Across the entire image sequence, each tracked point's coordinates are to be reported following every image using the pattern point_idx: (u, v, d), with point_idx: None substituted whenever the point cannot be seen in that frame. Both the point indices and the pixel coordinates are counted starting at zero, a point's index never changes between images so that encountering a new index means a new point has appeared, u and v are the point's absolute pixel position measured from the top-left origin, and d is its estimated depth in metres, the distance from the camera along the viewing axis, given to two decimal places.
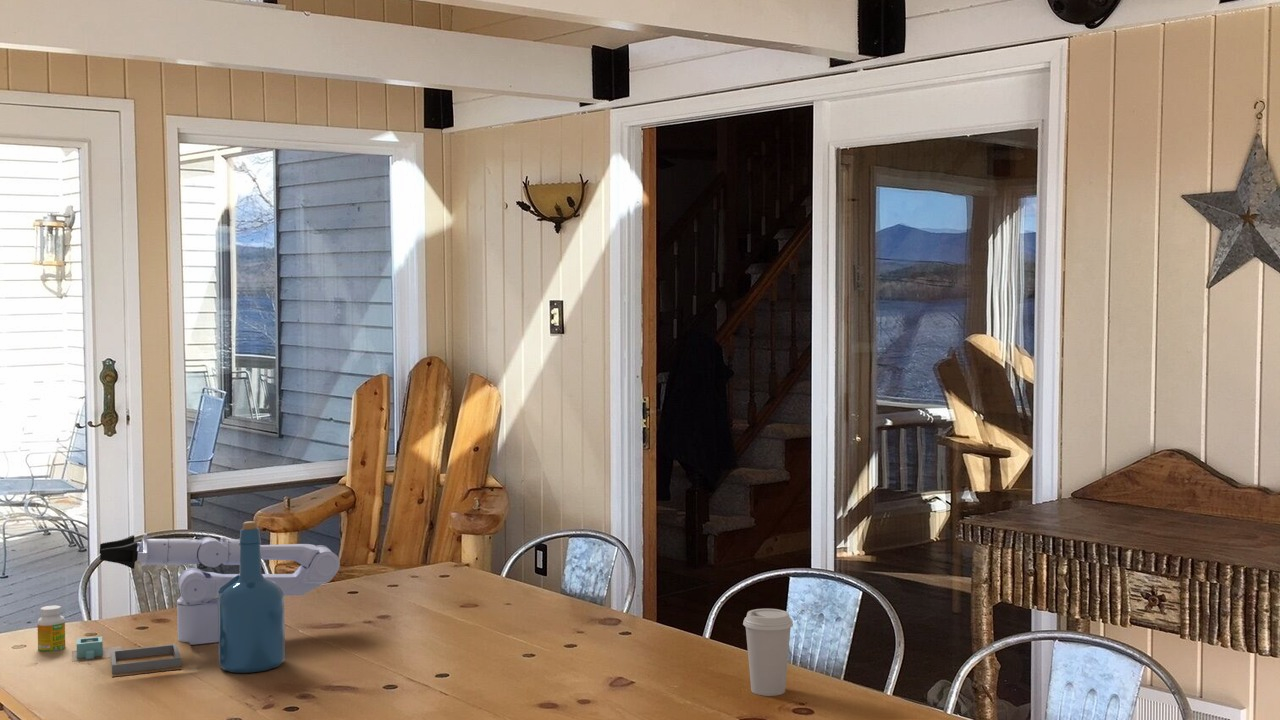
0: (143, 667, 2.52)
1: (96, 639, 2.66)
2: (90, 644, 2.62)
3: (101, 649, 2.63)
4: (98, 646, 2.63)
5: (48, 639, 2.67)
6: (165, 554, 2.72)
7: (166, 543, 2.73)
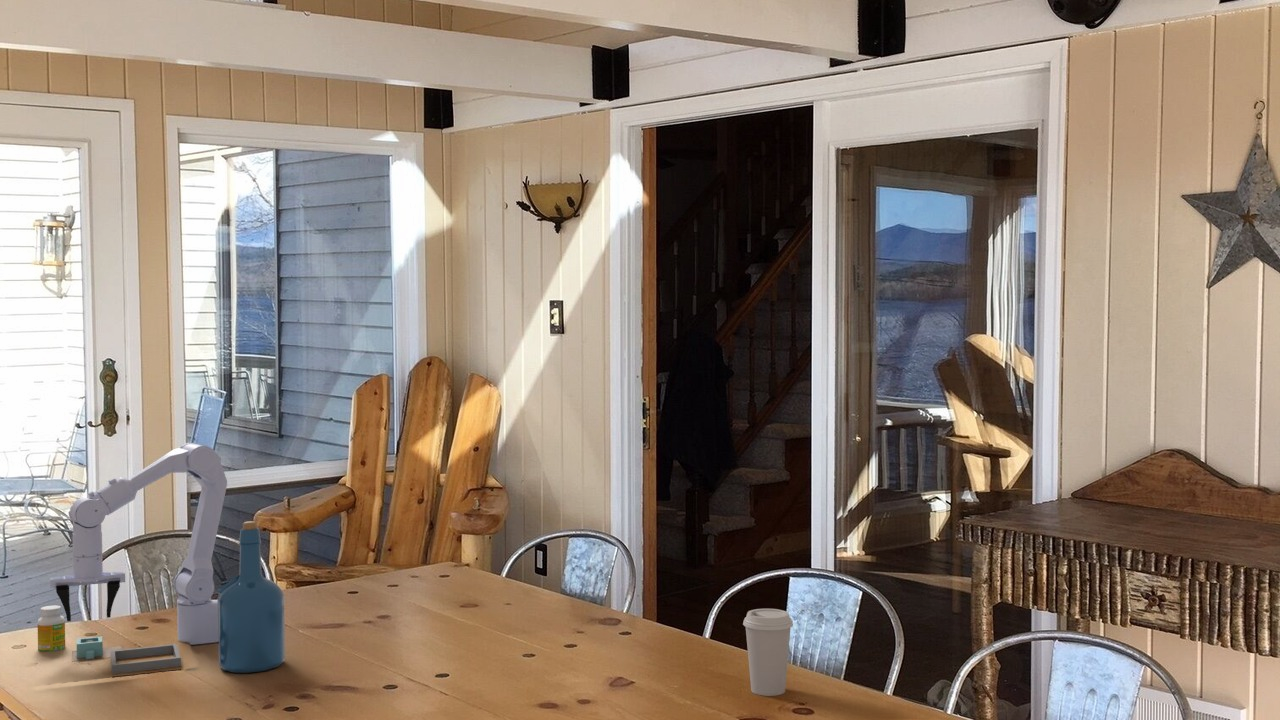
0: (143, 667, 2.52)
1: (96, 639, 2.66)
2: (90, 644, 2.62)
3: (101, 649, 2.63)
4: (98, 646, 2.63)
5: (48, 639, 2.67)
6: None
7: (97, 557, 2.62)
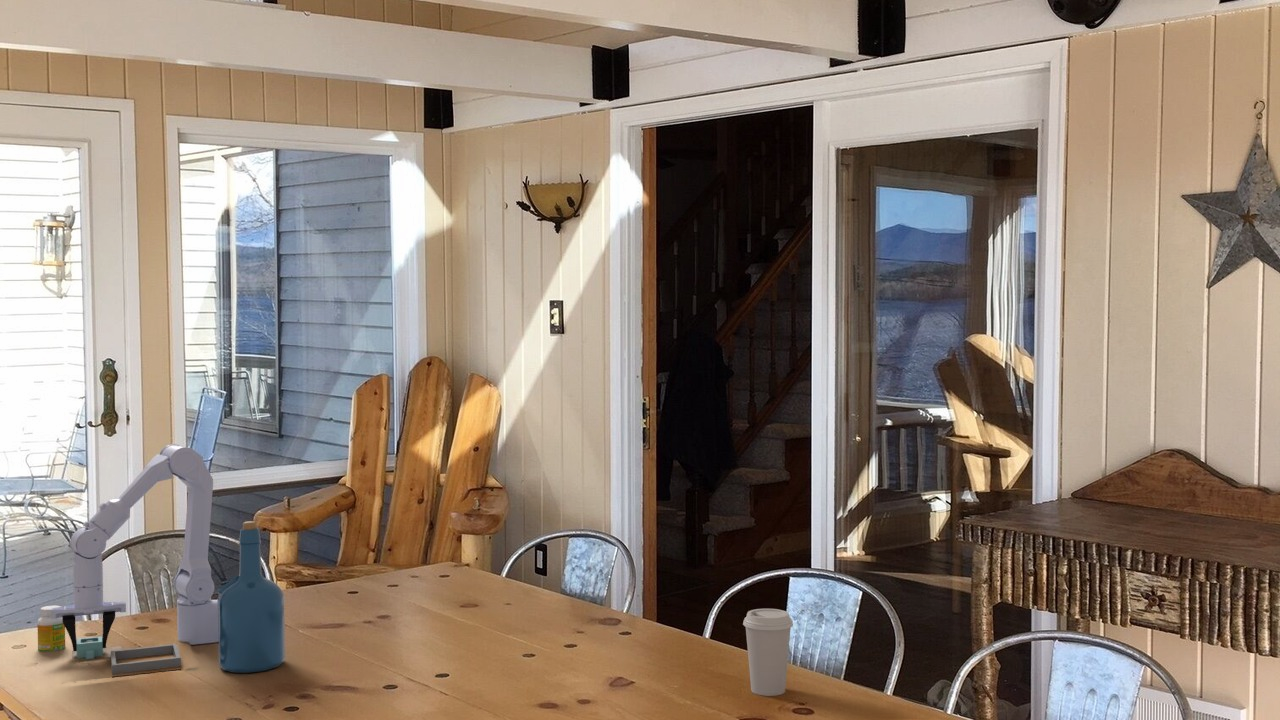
0: (143, 667, 2.52)
1: (96, 639, 2.66)
2: (90, 644, 2.62)
3: (101, 649, 2.63)
4: (98, 646, 2.63)
5: (48, 639, 2.67)
6: (102, 585, 2.65)
7: (97, 587, 2.62)
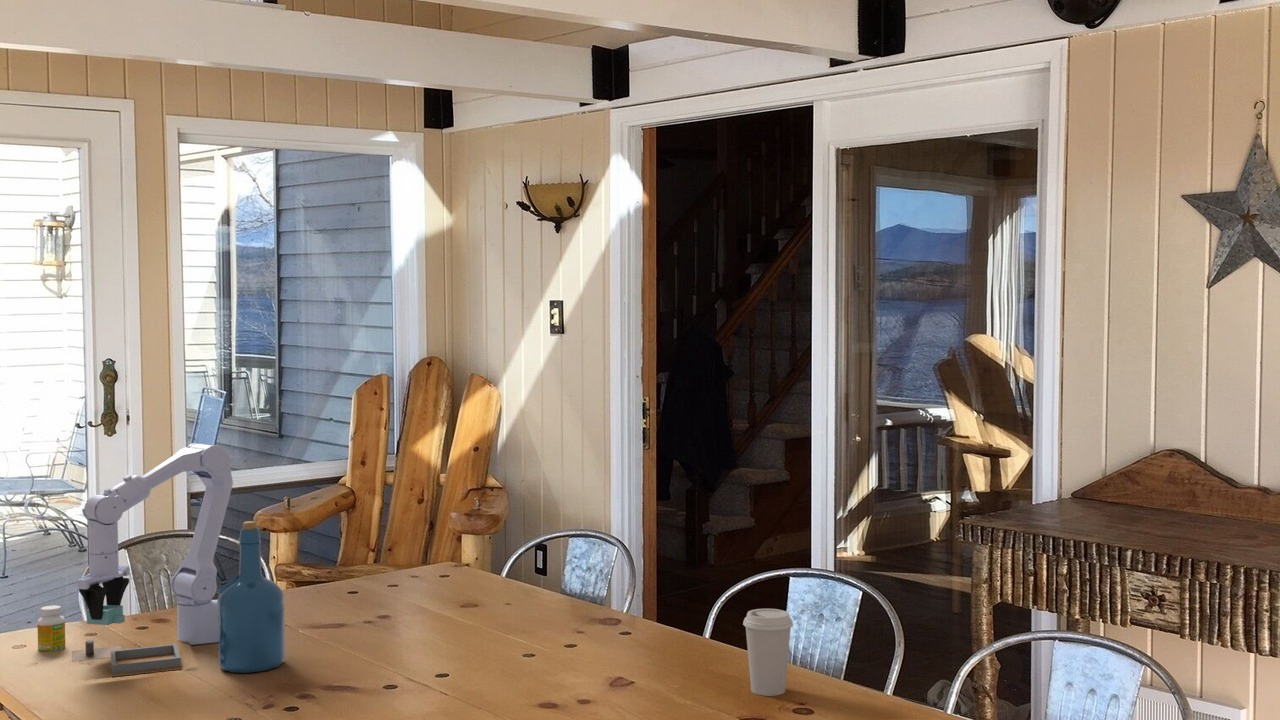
0: (143, 667, 2.52)
1: None
2: (115, 609, 2.62)
3: (122, 613, 2.64)
4: (120, 610, 2.63)
5: (48, 639, 2.67)
6: None
7: None
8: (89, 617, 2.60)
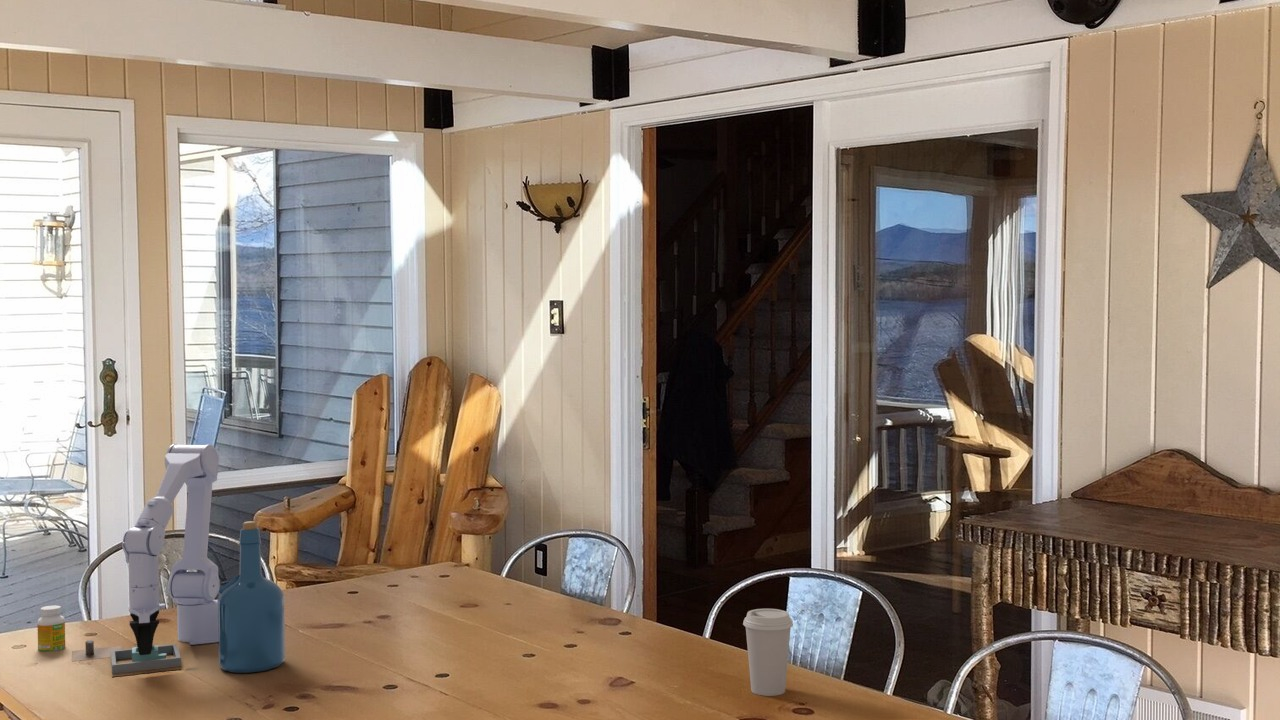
0: (143, 667, 2.52)
1: (136, 650, 2.58)
2: (157, 649, 2.58)
3: None
4: None
5: (48, 639, 2.67)
6: None
7: None
8: (135, 660, 2.54)
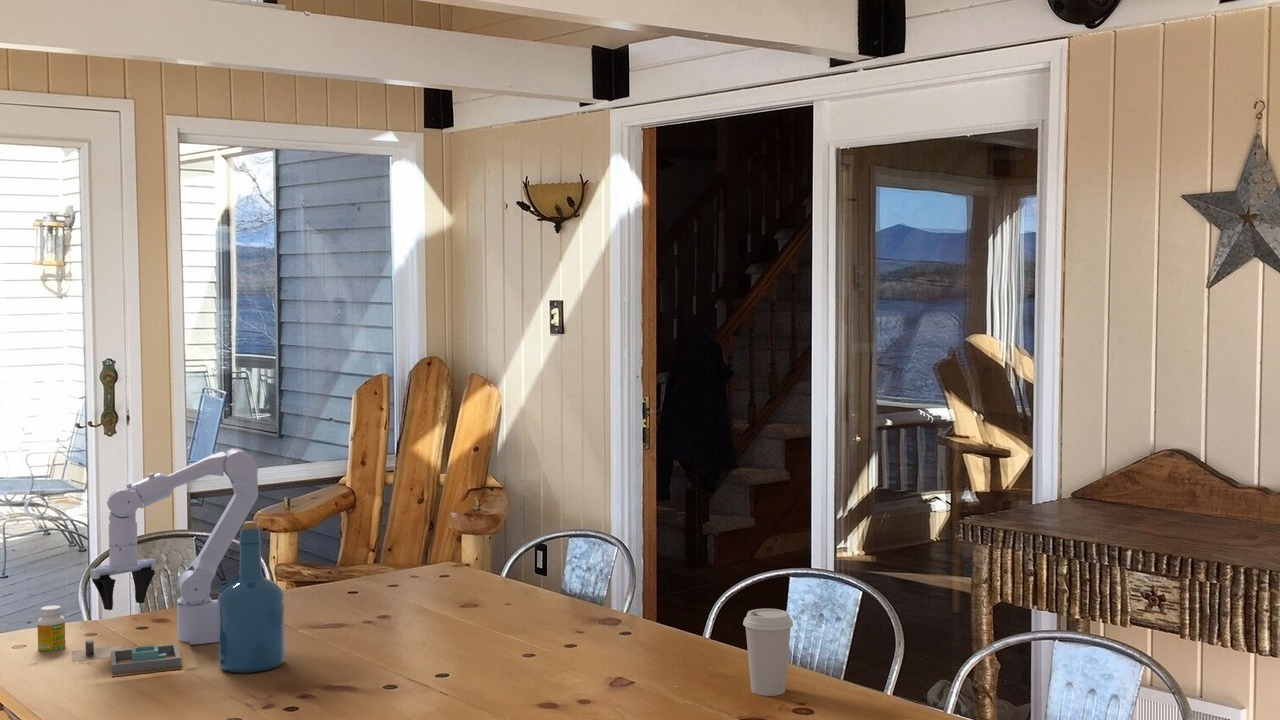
0: (143, 667, 2.52)
1: (136, 650, 2.58)
2: (157, 649, 2.58)
3: None
4: None
5: (48, 639, 2.67)
6: None
7: (136, 545, 2.71)
8: (135, 660, 2.54)
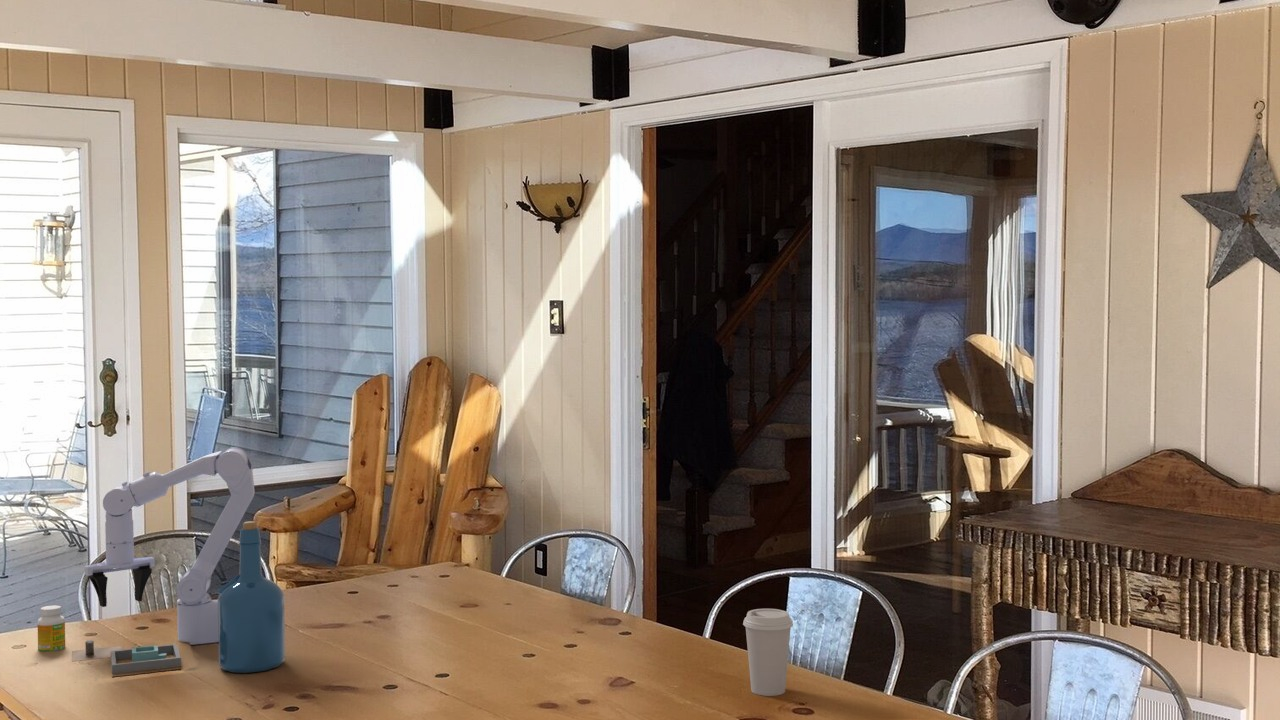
0: (143, 667, 2.52)
1: (136, 650, 2.58)
2: (157, 649, 2.58)
3: None
4: None
5: (48, 639, 2.67)
6: None
7: (131, 543, 2.73)
8: (135, 660, 2.54)
